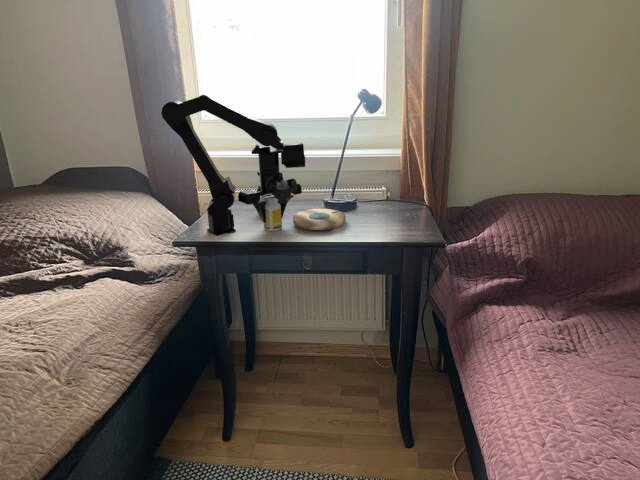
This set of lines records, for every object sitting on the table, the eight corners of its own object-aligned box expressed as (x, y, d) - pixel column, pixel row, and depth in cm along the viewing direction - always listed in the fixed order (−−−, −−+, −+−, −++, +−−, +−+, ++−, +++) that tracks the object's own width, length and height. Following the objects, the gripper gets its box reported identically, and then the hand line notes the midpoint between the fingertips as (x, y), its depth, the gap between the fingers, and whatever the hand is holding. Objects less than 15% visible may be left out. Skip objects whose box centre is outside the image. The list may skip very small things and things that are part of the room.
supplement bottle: (283, 225, 140) (281, 194, 137) (280, 231, 135) (278, 199, 132) (266, 225, 141) (263, 194, 137) (262, 231, 136) (259, 199, 132)
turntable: (314, 236, 130) (314, 228, 129) (283, 223, 142) (282, 215, 141) (356, 224, 139) (356, 216, 138) (323, 212, 151) (323, 205, 150)
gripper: (255, 178, 120) (259, 234, 126) (312, 168, 131) (313, 220, 136) (235, 171, 128) (239, 224, 134) (290, 162, 139) (292, 212, 145)
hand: (272, 220), depth 137 cm, fingers closed on supplement bottle, 5 cm apart
